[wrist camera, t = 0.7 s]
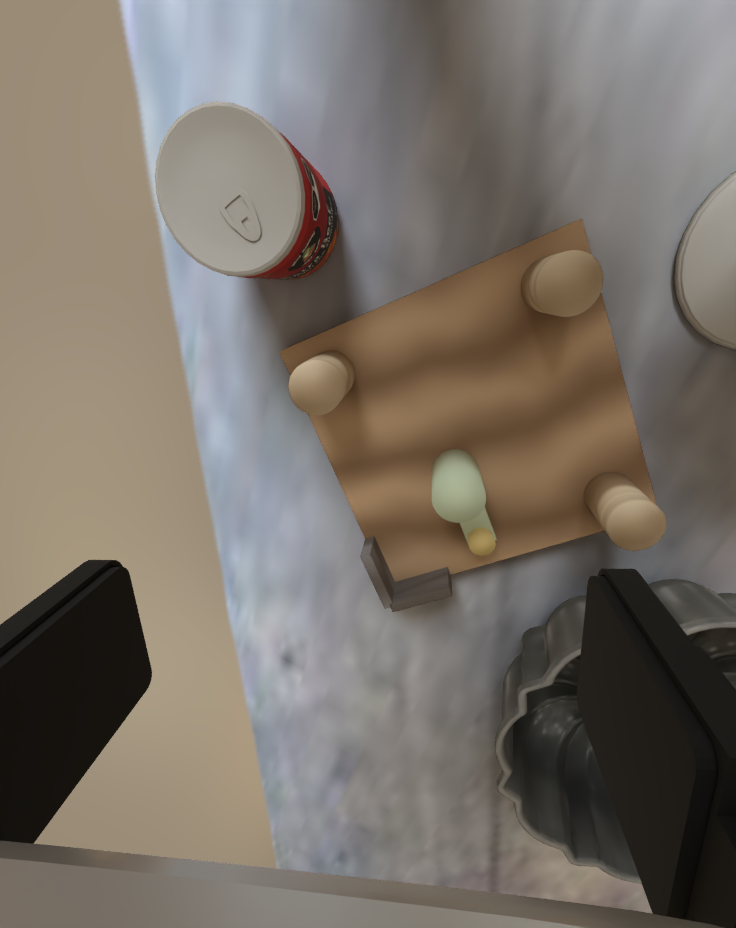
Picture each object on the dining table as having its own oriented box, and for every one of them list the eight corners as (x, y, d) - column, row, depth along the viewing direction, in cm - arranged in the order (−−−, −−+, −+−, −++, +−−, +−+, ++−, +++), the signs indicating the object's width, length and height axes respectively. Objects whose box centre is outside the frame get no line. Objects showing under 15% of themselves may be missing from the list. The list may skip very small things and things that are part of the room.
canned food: (299, 302, 36) (247, 307, 26) (214, 227, 35) (125, 202, 25) (364, 214, 34) (334, 182, 24) (274, 130, 33) (203, 59, 22)
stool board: (286, 348, 38) (253, 362, 31) (573, 222, 32) (612, 204, 25) (391, 578, 44) (384, 634, 37) (648, 504, 38) (696, 552, 31)
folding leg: (505, 538, 38) (517, 579, 33) (463, 550, 39) (468, 592, 34) (469, 439, 36) (475, 466, 31) (424, 455, 37) (423, 483, 31)
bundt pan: (583, 810, 51) (617, 928, 41) (425, 642, 46) (423, 732, 36) (850, 702, 42) (969, 818, 33) (692, 482, 38) (778, 547, 28)
